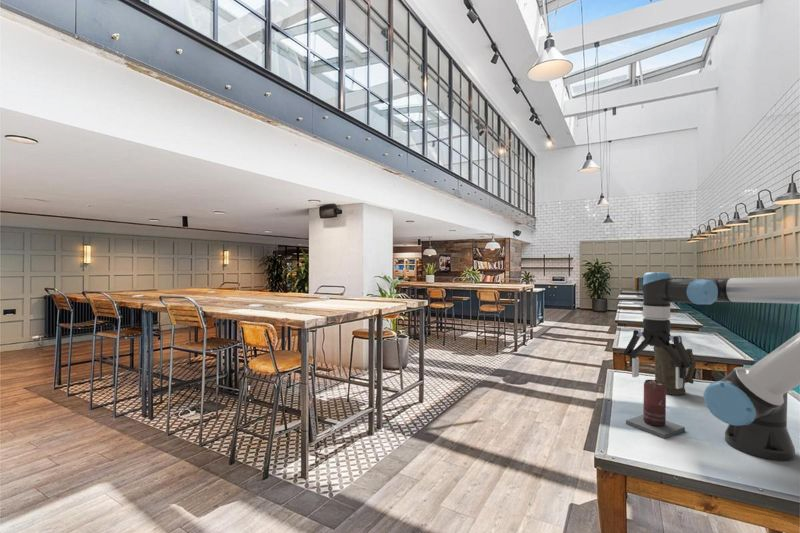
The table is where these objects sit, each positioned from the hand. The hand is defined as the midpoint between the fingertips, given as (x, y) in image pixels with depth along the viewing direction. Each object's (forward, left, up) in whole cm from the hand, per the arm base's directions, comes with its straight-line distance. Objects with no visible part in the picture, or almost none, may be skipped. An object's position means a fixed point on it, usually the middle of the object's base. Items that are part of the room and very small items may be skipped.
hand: (656, 382), depth 124 cm
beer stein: (+16, -44, -16) cm, 49 cm away
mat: (0, 0, -15) cm, 15 cm away
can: (+1, 0, -14) cm, 14 cm away
